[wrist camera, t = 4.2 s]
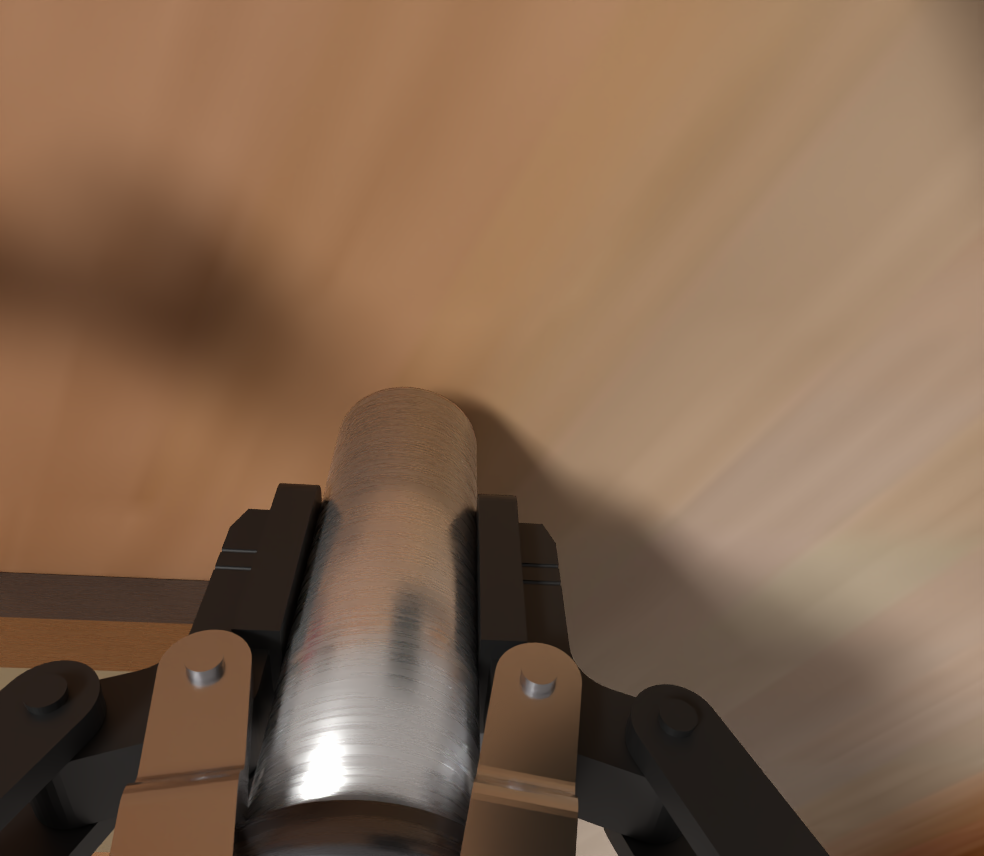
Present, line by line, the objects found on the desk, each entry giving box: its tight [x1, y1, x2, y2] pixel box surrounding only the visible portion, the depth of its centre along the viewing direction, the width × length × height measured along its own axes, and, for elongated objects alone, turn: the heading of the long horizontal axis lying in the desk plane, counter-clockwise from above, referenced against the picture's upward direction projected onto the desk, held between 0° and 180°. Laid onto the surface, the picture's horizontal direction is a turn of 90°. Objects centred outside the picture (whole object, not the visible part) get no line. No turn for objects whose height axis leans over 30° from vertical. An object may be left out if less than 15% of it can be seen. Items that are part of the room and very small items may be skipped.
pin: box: [237, 387, 480, 856], centre depth 13 cm, size 4×4×10 cm
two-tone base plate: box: [0, 572, 484, 852], centre depth 21 cm, size 22×8×5 cm, turn 84°
